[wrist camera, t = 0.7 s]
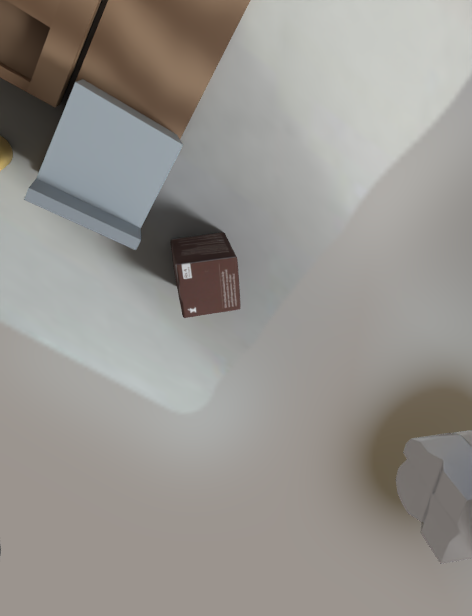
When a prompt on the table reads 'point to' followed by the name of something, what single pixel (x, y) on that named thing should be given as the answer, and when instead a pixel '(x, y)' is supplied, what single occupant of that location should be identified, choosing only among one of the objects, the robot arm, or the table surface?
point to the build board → (43, 43)
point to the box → (206, 274)
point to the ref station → (160, 54)
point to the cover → (104, 165)
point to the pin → (5, 153)
